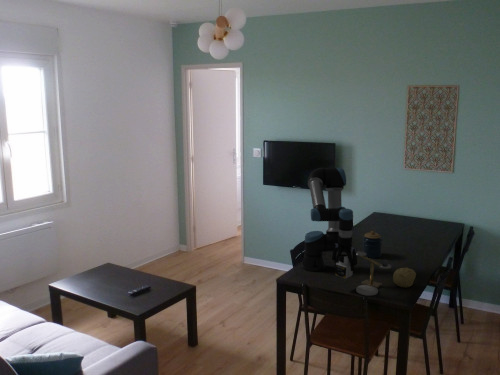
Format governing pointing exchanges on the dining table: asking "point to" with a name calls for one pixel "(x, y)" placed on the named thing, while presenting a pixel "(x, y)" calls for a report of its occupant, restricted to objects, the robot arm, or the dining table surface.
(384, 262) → the balance
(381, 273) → the dining table surface
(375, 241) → the canister
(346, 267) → the grey piece
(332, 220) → the robot arm
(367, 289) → the dish
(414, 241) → the dining table surface
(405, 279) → the olive brown dome
